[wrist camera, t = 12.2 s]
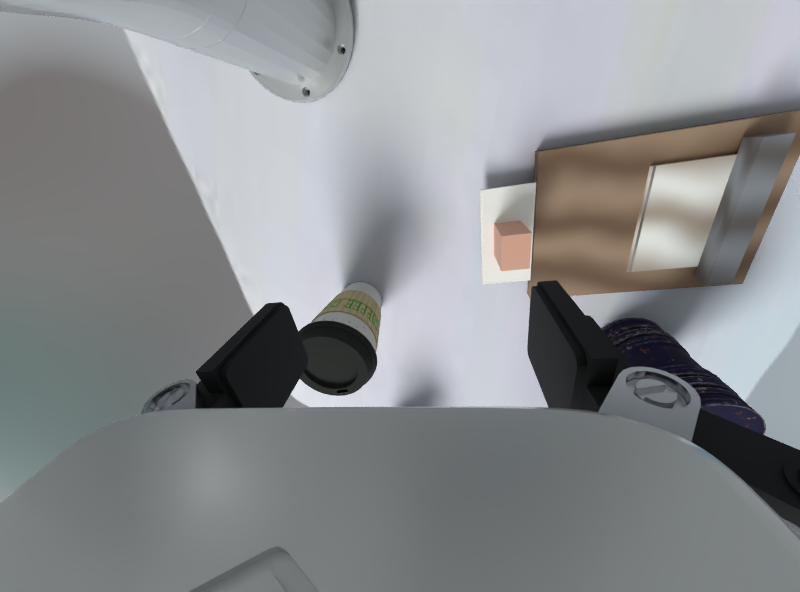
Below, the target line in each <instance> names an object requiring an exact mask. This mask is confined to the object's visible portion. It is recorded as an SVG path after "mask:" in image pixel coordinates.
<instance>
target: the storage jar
mask: <svg viewBox="0 0 800 592" xmlns="http://www.w3.org/2000/svg"><path fill="white" fill-rule="evenodd" d="M602 330H603V332H604V333H605V334H606V335H607V336H608V338H609V339H610V340H611V341H612V343H613V344H614V345H615V346H616V347H617V349H618V350H619V351H620V352H621V353H622V355H623V356H624V357H625V358H626V359H627V361H628V362H629V363H630V364H631V366H632V367H650V368H655V369H659V370H663V371H666V372H668V373H671V374H673V375H675V376H677V377H679V378H681V379H682V380H684V381H686V382H687V383H688V384H689V385H690V386H692V387H693V388H694V389H695V390H696V392H697V393H698V395H699V396H700V401H701V406H700V409H702V410H705V411H707V412H710V413H712V414H714V415H717V416H719V417H722V418H724V419H726V420H729V421H731V422H733V423H736V424H738V425H741V426H743V427H745V428H748V429H750V430H753V431H755V432H757V433H760V434H762V435H764V433H765V430H766V427H765V426H766V425H765V422H764V420H763V418H762V417H761V416H760V415H759V414H758V413H757V412H756V411H755V410H753V409H752V408H751V407H749V406H748V405H747V403H745V402H744V401H743V400H742V399H741V398H740V397H739V395H738V394H737V393H736V392H735V391H733V390H732V389H731V388H730V387H729V386H728V385H726V384H725V383H724V382H722V381H721V379H720V378H719V377H717V376H716V375H715V374H713V373H711V372H710V371H708V370H706V369H704V368H702V367H701V366H700V365H699V364H698V363H697V362H696V361H694V360H693V359H692V358H691V357H690V355H689V353H688V352H687V351H686V350H685V349H684V348H683V347H682V346H681V345H680V344H679V343H678V342H677V341H676V340H675V339H674V338H673V337H672V336H670V335H669V334H668V333H666V332H664V331H663V330H662V329H661V328H660V327H659V326H658V325H657V324H655V323H654V322H652V321H650V320H647V319H642V318H627V319H622V320H618V321H615V322H613V323H610V324H608V325H607V326H605V327H603V328H602Z"/></svg>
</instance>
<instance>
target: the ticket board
mask: <svg viewBox="0 0 800 592" xmlns="http://www.w3.org/2000/svg"><path fill="white" fill-rule="evenodd" d="M799 155H800V110H793V111H787V112H781V113H774V114H768V115H762V116H755V117H749V118H743V119H736V120H730V121H724V122H718V123H711V124H705V125H699V126H692V127H686V128H680V129H673V130H667V131H661V132H654V133H648V134H642V135H635V136H629V137H623V138H617V139H610V140H604V141H598V142H591V143H585V144H579V145H572V146H566V147H560V148H553V149H547V150H541V151H535V168H534V182H536V194H535V210H534V227H533V243H532V260H531V276H530V280H528V291H527V294H528V295H529V297H530V299H531V288H532V286H537V283H538V282H540V281H552V280H557V281H558V282H559V283H560V285H561V286H562V287H563V288H564V290H565V291H566V292H567V293H568V295H569V296H574V295H588V294H602V293H617V292H631V291H645V290H659V289H673V288H687V287H702V286H716V285H730V284H742V283H743V281H744V279H745V277H746V274H747V272H748V270H749V268H750V265H751V263H752V261H753V259H754V256H755V254H756V252H757V250H758V247H759V245H760V243H761V241H762V238H763V236H764V234H765V232H766V229H767V227H768V225H769V223H770V220H771V218H772V216H773V214H774V211H775V209H776V207H777V205H778V202H779V200H780V198H781V196H782V193H783V191H784V189H785V187H786V184H787V182H788V180H789V178H790V175H791V173H792V171H793V169H794V166H795V164H796V162H797V160H798V157H799Z"/></svg>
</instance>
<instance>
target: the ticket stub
mask: <svg viewBox="0 0 800 592" xmlns="http://www.w3.org/2000/svg"><path fill="white" fill-rule="evenodd" d="M535 194H536V182H533V183H526V184H519V185H511V186H504V187H497V188H490V189H483V190H480V222H481V261H482V284H492V283H504V282H516V281H528V280H530V276H531V260H532V243H533V227H534V210H535Z"/></svg>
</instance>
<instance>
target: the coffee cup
mask: <svg viewBox="0 0 800 592" xmlns="http://www.w3.org/2000/svg"><path fill="white" fill-rule="evenodd" d="M381 305H382V298H381V295H380V293H379V292H378V290H377V289H376V288H375V287H374V286H372V285H370V284H368V283H365V282H354V283H352V284H350V285H348V286H347V287H346V288H345V289H344V290H343V291H342V292H341V293H340V294H338V295H337V296H336V297H335V298H334V299H333V300H332V301H331V302H330V303H329V304H328V305H327V306H326V307H325V308H324V309H323V310H322V311H321V312H320V313H319V314H318V315H317V316H316V317H315V318H314V319H313V320H312V322H311V323H310V324H308V325H306V326H305V327H303V328H302V329H301V330H300V331H299V332H298V333H299V335H300V338H301V340H302V343H303V345H304V348H305V350H306V353H307V356H308V364H307V367H306V368H305V370H304V372H303V373H302V375H301V377H300V379H301V380H302V381H303V382H304V383H305V384H306V385H308V386H309V387H311V388H312V389H314V390H316V391H319V392H321V393H324V394H328V395H336V396H340V395H348V394H351V393H354V392H356V391H357V390H359V389H360V388H361V387H362V386H363V385H364V384H366V383H367V382H368V381H369V380H370V378H371V377H372V376H373V374H374V372H375V370H376V366H377V356H376V349H377V343H378V335H379V327H380V319H381Z"/></svg>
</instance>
